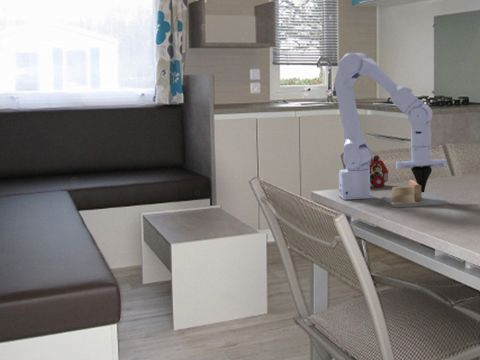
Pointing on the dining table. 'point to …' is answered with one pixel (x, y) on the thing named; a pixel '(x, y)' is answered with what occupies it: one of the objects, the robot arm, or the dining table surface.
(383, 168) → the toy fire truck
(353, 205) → the dining table surface
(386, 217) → the dining table surface
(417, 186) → the fence fixed
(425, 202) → the card
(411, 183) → the tan flat block
